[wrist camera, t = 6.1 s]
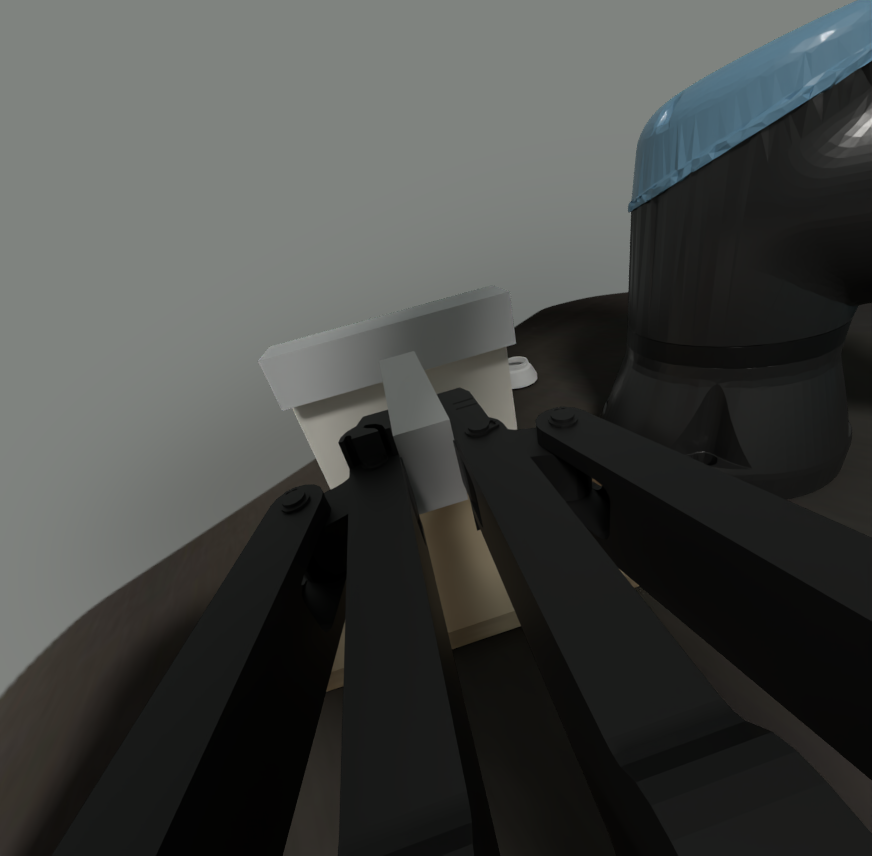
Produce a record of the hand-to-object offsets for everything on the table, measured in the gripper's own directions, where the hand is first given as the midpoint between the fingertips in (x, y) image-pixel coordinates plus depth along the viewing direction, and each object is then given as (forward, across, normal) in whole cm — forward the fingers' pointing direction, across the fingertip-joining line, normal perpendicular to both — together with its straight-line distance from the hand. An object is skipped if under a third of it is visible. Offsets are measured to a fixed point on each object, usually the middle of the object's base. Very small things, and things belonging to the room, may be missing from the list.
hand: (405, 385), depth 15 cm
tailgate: (+7, 0, -13) cm, 14 cm away
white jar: (+26, +14, -14) cm, 33 cm away
